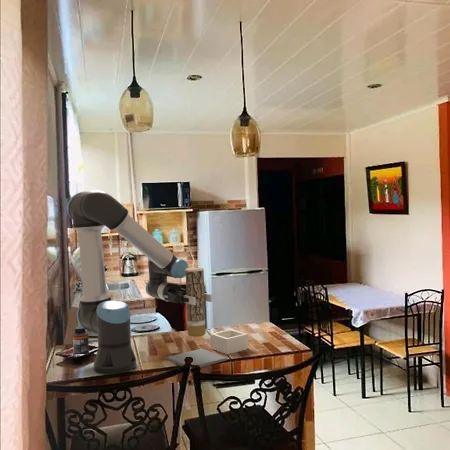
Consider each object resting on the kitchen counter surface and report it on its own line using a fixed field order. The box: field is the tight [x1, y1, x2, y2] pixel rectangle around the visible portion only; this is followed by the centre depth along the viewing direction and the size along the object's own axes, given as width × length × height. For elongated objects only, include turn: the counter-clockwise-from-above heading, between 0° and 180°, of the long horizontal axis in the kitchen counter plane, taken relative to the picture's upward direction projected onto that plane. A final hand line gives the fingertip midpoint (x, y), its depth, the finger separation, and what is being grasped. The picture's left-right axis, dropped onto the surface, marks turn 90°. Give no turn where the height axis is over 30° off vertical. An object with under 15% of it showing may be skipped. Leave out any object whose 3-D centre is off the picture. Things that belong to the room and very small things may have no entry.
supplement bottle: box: [72, 325, 90, 356], centre depth 187 cm, size 6×6×11 cm
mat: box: [167, 348, 228, 368], centre depth 177 cm, size 16×16×1 cm
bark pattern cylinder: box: [185, 267, 207, 338], centre depth 177 cm, size 7×7×25 cm
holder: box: [209, 328, 249, 355], centre depth 191 cm, size 11×11×6 cm
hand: (203, 299), depth 173 cm, fingers closed on bark pattern cylinder, 7 cm apart
